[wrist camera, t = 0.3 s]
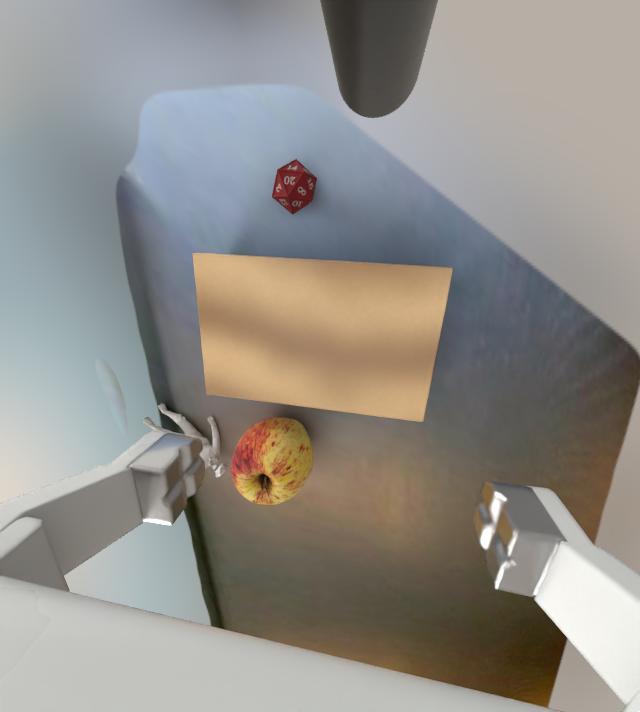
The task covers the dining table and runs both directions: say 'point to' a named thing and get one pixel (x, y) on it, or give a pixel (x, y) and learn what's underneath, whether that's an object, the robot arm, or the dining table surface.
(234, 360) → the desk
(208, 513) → the dining table surface
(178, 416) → the soldier figure
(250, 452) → the apple
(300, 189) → the dice
